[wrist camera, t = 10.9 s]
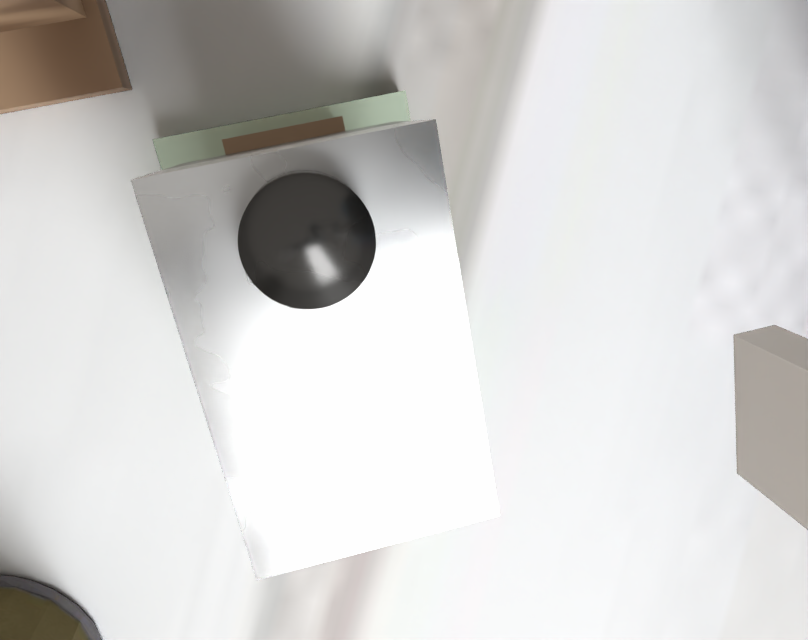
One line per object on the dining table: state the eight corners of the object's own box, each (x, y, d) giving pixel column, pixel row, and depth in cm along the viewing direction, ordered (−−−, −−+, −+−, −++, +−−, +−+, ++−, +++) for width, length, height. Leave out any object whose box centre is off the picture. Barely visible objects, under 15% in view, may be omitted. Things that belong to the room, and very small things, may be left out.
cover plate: (468, 456, 22) (513, 541, 17) (262, 508, 21) (254, 611, 17) (409, 120, 18) (447, 118, 14) (161, 169, 18) (116, 184, 13)
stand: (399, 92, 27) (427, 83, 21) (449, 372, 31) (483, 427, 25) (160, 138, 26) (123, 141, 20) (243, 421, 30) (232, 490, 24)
